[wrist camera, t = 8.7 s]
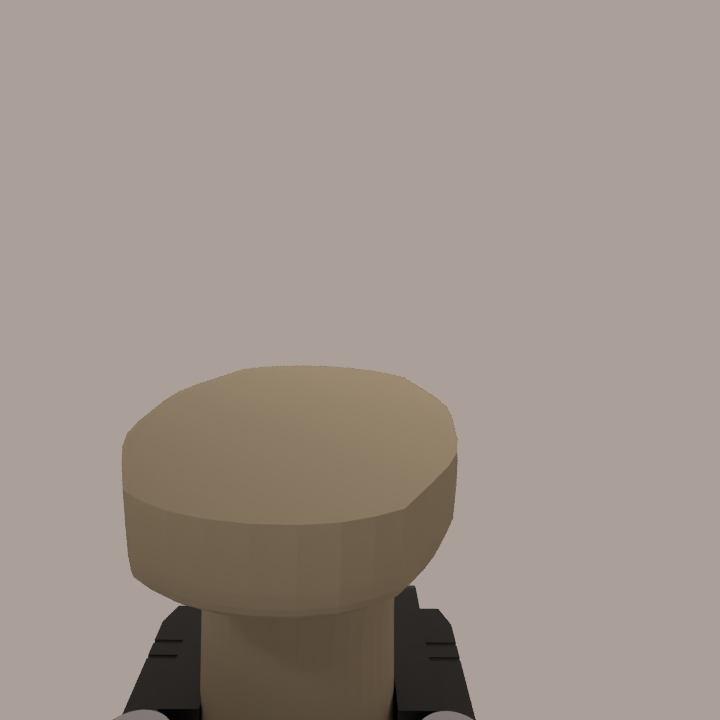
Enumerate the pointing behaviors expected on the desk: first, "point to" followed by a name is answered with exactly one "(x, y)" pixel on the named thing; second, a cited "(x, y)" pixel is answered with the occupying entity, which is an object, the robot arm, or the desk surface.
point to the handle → (291, 530)
